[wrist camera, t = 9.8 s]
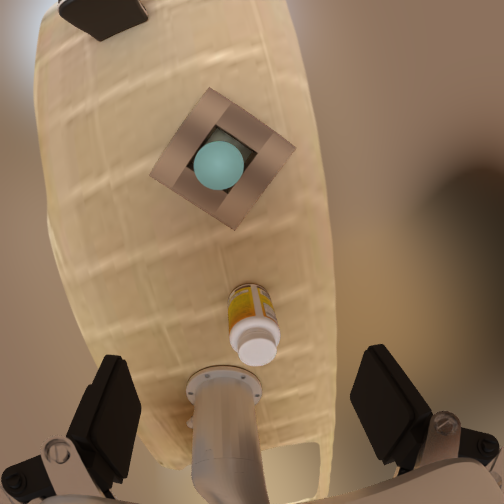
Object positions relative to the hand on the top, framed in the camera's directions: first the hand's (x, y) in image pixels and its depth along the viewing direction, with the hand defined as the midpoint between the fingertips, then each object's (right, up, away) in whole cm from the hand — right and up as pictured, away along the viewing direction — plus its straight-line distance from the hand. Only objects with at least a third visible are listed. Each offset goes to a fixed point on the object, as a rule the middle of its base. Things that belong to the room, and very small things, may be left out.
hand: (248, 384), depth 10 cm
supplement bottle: (0, -1, +27) cm, 27 cm away
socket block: (-3, +15, +20) cm, 25 cm away
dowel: (-3, +15, +20) cm, 25 cm away
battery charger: (-15, +32, +12) cm, 38 cm away
